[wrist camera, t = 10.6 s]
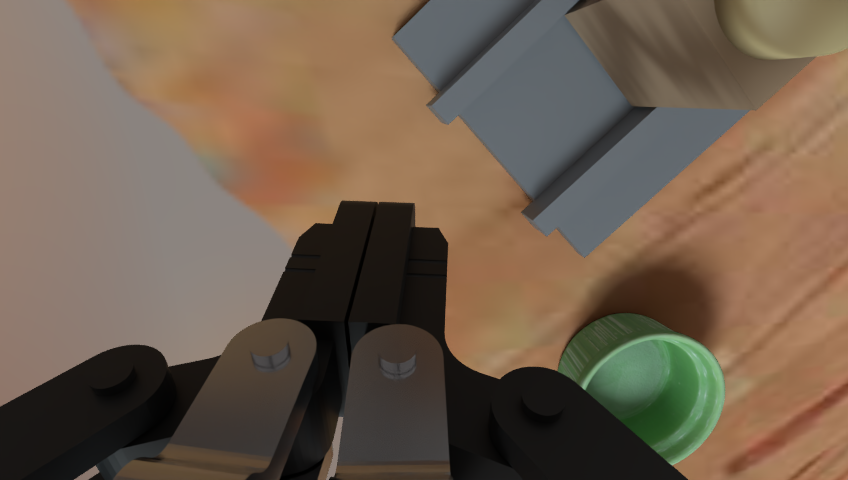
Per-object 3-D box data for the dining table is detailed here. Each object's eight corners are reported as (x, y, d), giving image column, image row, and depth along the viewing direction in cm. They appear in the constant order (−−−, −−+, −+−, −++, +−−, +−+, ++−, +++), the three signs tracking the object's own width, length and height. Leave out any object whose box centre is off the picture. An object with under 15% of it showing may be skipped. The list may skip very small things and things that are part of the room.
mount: (377, 52, 27) (385, 38, 20) (729, -294, 25) (869, -440, 18) (564, 264, 31) (622, 310, 24) (876, -15, 29) (1032, -49, 22)
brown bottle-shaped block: (564, 15, 26) (705, -40, 16) (656, -73, 26) (867, -192, 15) (632, 106, 28) (801, 111, 17) (720, 25, 27) (949, -20, 17)
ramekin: (650, 439, 35) (690, 485, 31) (528, 416, 34) (553, 462, 30) (702, 319, 33) (751, 351, 29) (575, 289, 32) (608, 318, 28)
